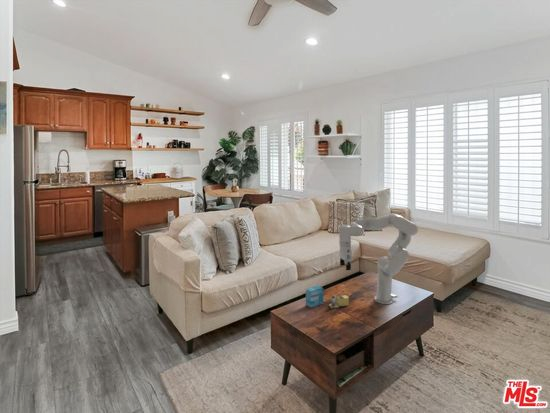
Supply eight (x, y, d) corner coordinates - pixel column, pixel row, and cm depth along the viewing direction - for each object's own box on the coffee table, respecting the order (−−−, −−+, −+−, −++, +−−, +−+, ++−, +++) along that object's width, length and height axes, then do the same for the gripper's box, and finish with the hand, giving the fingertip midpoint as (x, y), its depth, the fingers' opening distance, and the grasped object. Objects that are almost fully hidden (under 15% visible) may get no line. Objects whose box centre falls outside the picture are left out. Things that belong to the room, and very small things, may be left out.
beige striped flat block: (336, 304, 231) (336, 303, 231) (338, 307, 227) (338, 306, 227) (329, 305, 230) (329, 304, 230) (331, 308, 226) (331, 306, 226)
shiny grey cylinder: (334, 304, 230) (334, 295, 229) (336, 305, 227) (336, 297, 226) (331, 304, 229) (331, 296, 228) (332, 306, 227) (332, 297, 226)
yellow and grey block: (345, 302, 235) (346, 294, 234) (348, 305, 230) (348, 297, 229) (336, 303, 233) (336, 295, 232) (338, 306, 229) (339, 298, 228)
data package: (309, 308, 226) (310, 291, 224) (305, 305, 230) (305, 289, 227) (323, 303, 232) (323, 287, 230) (318, 301, 236) (319, 285, 234)
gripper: (356, 246, 219) (356, 271, 222) (344, 239, 236) (345, 262, 239) (345, 247, 218) (345, 272, 221) (334, 240, 234) (335, 264, 237)
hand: (345, 267), depth 230 cm, fingers open, 9 cm apart
